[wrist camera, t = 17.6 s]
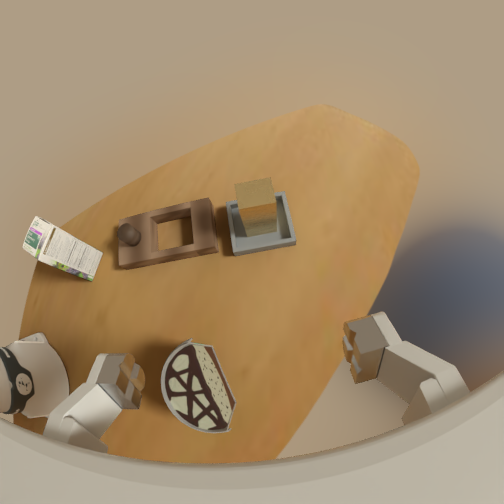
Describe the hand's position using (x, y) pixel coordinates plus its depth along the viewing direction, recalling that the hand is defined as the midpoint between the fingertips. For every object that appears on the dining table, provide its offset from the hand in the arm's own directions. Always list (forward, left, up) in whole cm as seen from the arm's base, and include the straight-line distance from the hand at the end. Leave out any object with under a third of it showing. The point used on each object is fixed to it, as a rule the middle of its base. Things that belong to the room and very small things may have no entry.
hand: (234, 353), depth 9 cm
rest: (+2, +16, -29) cm, 34 cm away
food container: (-10, -6, -30) cm, 32 cm away
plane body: (-13, +17, -29) cm, 37 cm away
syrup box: (-30, +16, -30) cm, 45 cm away
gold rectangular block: (+2, +16, -29) cm, 33 cm away
